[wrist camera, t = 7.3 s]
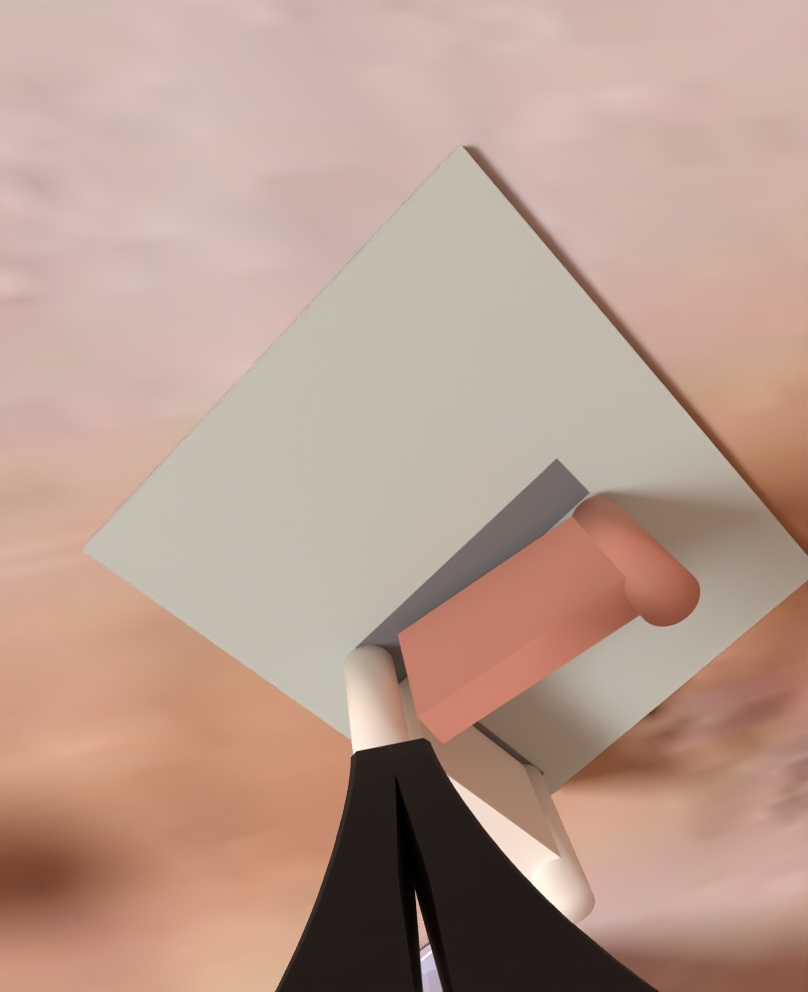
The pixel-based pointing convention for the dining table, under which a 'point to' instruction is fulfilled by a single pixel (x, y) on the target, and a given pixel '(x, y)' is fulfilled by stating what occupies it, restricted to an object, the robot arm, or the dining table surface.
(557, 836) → the fence base
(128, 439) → the dining table surface
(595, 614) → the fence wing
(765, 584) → the card
